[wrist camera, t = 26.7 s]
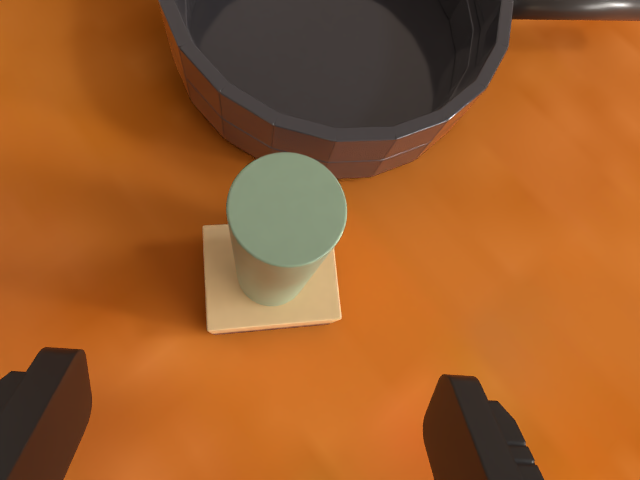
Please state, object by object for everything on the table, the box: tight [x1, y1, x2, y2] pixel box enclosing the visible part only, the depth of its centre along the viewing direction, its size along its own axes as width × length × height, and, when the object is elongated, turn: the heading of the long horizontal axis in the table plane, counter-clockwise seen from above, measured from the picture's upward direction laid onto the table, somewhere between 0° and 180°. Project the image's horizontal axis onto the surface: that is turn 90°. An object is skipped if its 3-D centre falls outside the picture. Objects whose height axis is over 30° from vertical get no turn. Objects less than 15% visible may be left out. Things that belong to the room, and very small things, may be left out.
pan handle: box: [512, 0, 640, 21], centre depth 23 cm, size 11×2×2 cm, turn 96°
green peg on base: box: [202, 152, 347, 335], centre depth 15 cm, size 5×4×11 cm
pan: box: [158, 0, 514, 179], centre depth 22 cm, size 15×15×4 cm
